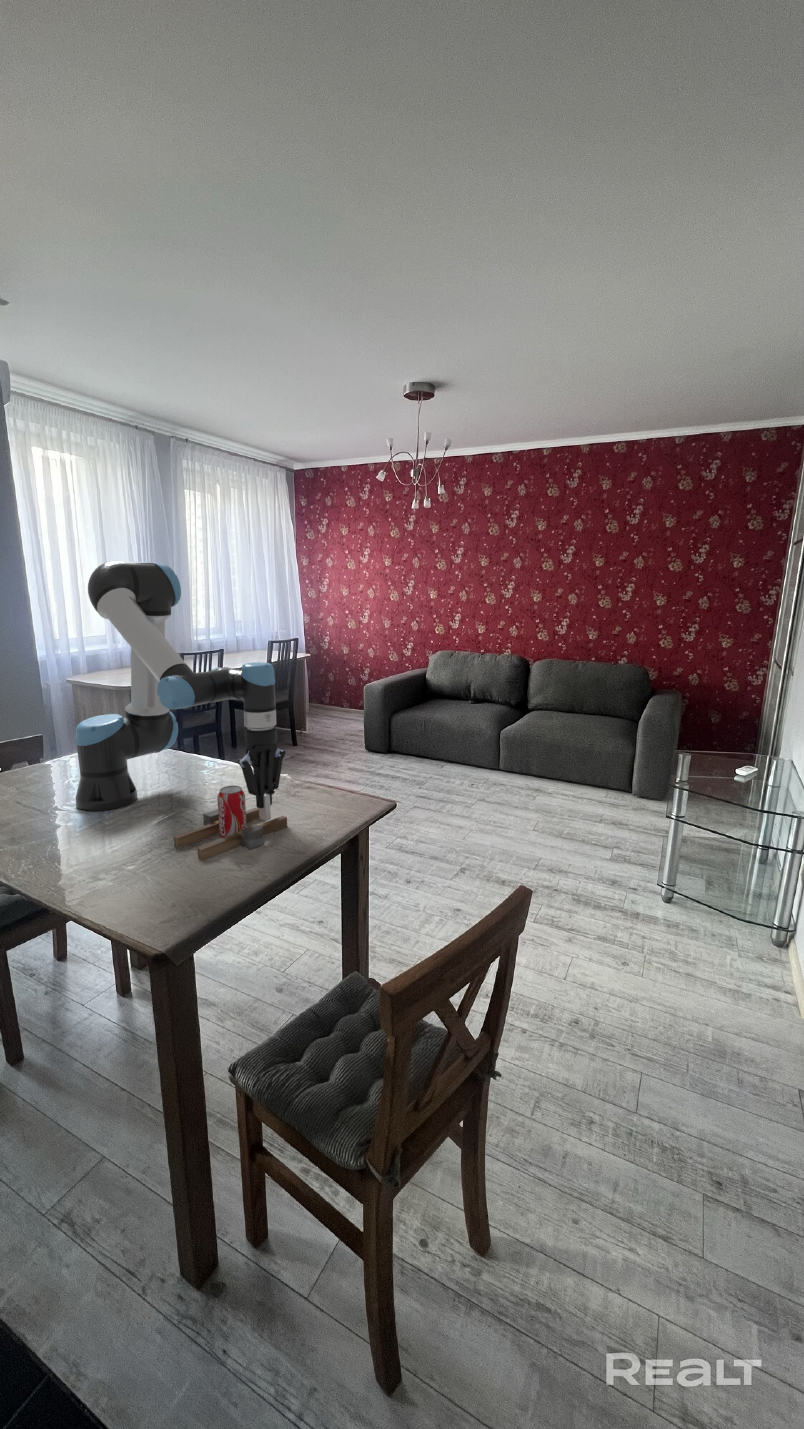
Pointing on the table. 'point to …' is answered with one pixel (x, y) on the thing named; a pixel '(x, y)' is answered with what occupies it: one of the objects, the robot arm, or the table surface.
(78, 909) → the table surface
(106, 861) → the table surface
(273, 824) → the wooden bars with blocks
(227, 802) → the beverage can
